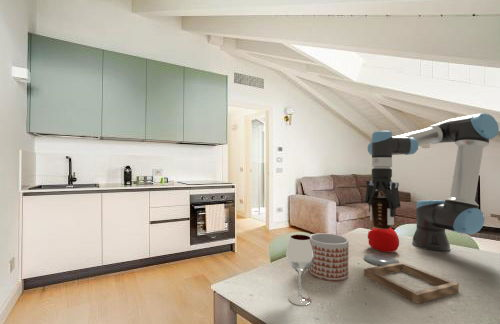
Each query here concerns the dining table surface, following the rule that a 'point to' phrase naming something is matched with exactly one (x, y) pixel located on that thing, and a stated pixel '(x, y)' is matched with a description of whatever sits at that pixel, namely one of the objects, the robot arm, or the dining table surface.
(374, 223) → the coffee cup
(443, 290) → the square wooden frame
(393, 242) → the tomato
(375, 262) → the flat grey disc
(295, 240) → the wineglass
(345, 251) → the planter
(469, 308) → the dining table surface
